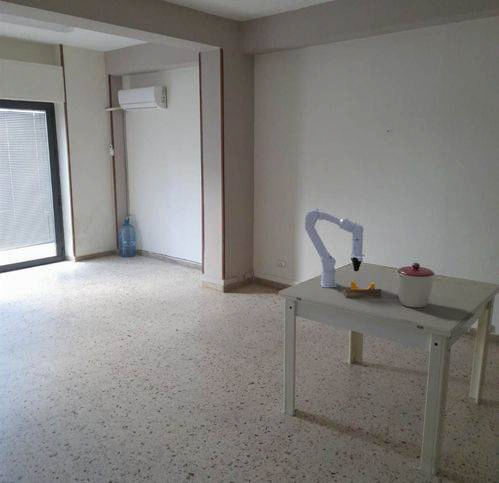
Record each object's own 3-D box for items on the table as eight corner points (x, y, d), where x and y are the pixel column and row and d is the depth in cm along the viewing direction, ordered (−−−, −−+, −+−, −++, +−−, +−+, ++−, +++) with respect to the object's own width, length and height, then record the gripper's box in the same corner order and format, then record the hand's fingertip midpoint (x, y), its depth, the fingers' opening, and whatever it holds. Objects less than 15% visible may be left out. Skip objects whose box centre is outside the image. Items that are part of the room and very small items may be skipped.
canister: (397, 310, 230) (399, 267, 226) (391, 298, 247) (393, 258, 243) (437, 311, 227) (440, 268, 223) (428, 299, 245) (431, 259, 241)
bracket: (342, 293, 255) (343, 286, 254) (376, 293, 256) (376, 285, 255) (346, 297, 249) (346, 290, 248) (380, 296, 250) (380, 289, 249)
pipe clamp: (350, 294, 254) (350, 283, 253) (351, 292, 258) (351, 280, 257) (373, 296, 251) (374, 284, 249) (374, 294, 255) (374, 282, 253)
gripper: (368, 249, 255) (367, 274, 258) (360, 243, 269) (359, 267, 272) (355, 249, 255) (354, 274, 257) (348, 244, 269) (347, 267, 271)
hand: (356, 270), depth 264 cm, fingers closed
